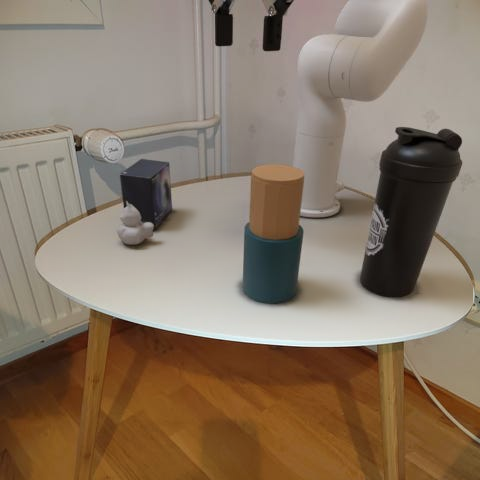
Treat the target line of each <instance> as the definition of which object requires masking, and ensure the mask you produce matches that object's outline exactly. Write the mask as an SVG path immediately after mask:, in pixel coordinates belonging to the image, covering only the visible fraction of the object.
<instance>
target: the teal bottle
mask: <svg viewBox="0 0 480 480" xmlns="http://www.w3.org/2000/svg"><path fill="white" fill-rule="evenodd" d="M243 230H244V233H243V262H242V291H243V293H244V294H245V296H246V297H248V298H249V299H251V300H253V301H256V302H259V303H264V304H280V303H285V302H288V301H289V300H291V299H293V298H294V296H296V294H297V288H298V282H299V281H298V280H299V272H300V265H301V256H302V249H303V241H304V240H303V239H304V233H305V232H304V231H305V230H304V228H303V226H302V225H301V224H299V229H298V232H297V235H295V236H293V237H291V238H289V239H281V240H271V239H264V238H261V237H258V236H256V235H254V234H252V232H251V231H250V229H249V221H248V222H247V223H246V224H245V226H244V229H243Z"/></svg>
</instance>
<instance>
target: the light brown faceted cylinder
mask: <svg viewBox="0 0 480 480" xmlns="http://www.w3.org/2000/svg"><path fill="white" fill-rule="evenodd" d="M303 186H304V172H303V171H302V170H300V169H298V168H296V167H293V165H289V164H288V165H287V164H276V163H275V164H273V163H271V164H262V165H258V166H256V167H254V168H253V169H252V171H251V175H250V192H249V193H250V196H249V216H248V217H249V219H248V220H249V221H248V222H249V229H250V231H251V232H252V234H254V235H256V236H258V237H261V238H264V239H271V240H281V239H289V238H291V237H293V236H295V235H297V232H298V229H299V225H300V218H301V216H300V212H301V203H302V194H303Z"/></svg>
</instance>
